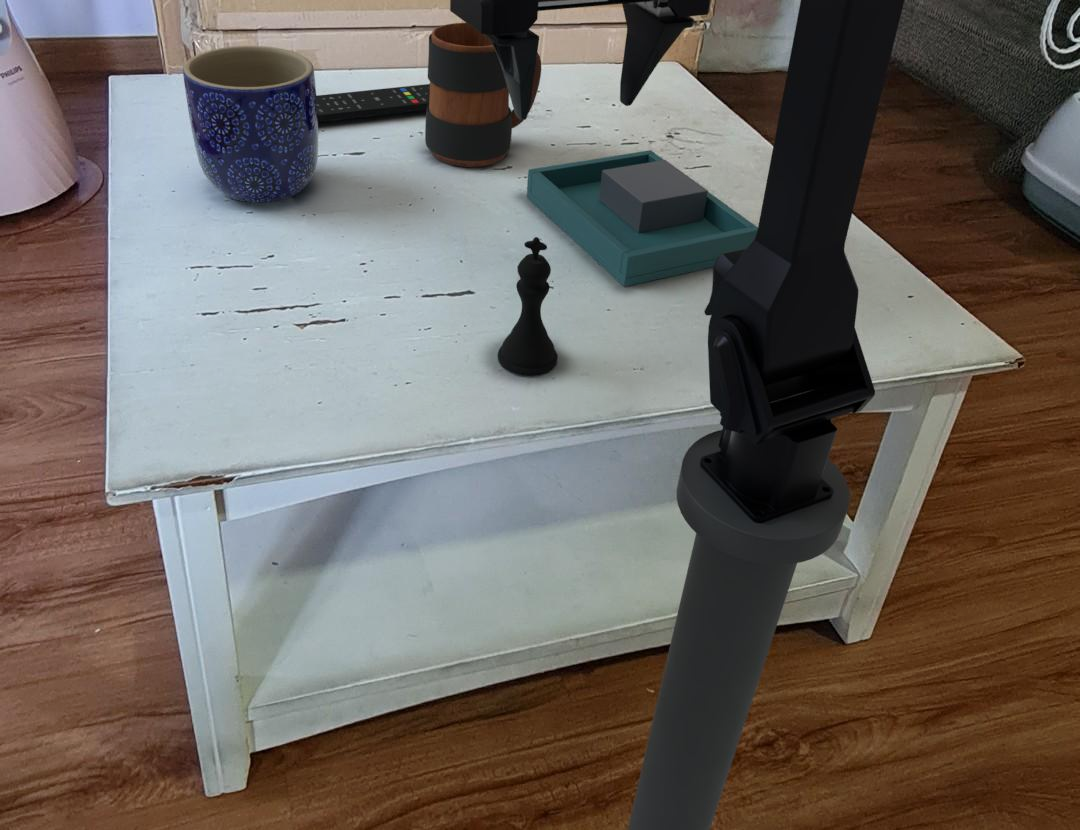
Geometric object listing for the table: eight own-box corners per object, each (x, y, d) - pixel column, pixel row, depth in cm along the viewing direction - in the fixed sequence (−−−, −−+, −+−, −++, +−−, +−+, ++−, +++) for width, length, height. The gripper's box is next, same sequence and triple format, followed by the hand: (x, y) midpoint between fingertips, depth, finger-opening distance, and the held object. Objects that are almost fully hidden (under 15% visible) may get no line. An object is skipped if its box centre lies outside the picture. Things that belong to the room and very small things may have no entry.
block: (703, 220, 91) (708, 190, 89) (638, 233, 88) (642, 202, 86) (660, 188, 96) (665, 159, 94) (598, 200, 93) (601, 169, 91)
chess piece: (551, 381, 71) (562, 258, 65) (491, 371, 72) (496, 247, 66) (562, 348, 75) (574, 227, 68) (505, 338, 75) (511, 217, 69)
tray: (754, 258, 88) (761, 229, 86) (624, 287, 82) (628, 257, 81) (646, 176, 100) (650, 149, 98) (526, 197, 94) (528, 169, 92)
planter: (228, 224, 86) (211, 97, 79) (182, 176, 93) (162, 55, 86) (343, 197, 91) (336, 76, 85) (291, 153, 98) (281, 38, 91)
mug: (554, 158, 101) (564, 42, 94) (444, 174, 97) (446, 53, 90) (517, 127, 107) (523, 15, 100) (412, 140, 103) (411, 23, 95)
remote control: (468, 110, 110) (468, 98, 109) (248, 136, 101) (247, 123, 100) (449, 93, 114) (450, 81, 113) (236, 116, 104) (235, 103, 104)
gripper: (647, -142, 76) (622, 63, 85) (418, -138, 68) (419, 87, 78) (735, -111, 68) (697, 111, 78) (489, -103, 61) (481, 142, 70)
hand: (574, 110), depth 76 cm, fingers open, 9 cm apart
